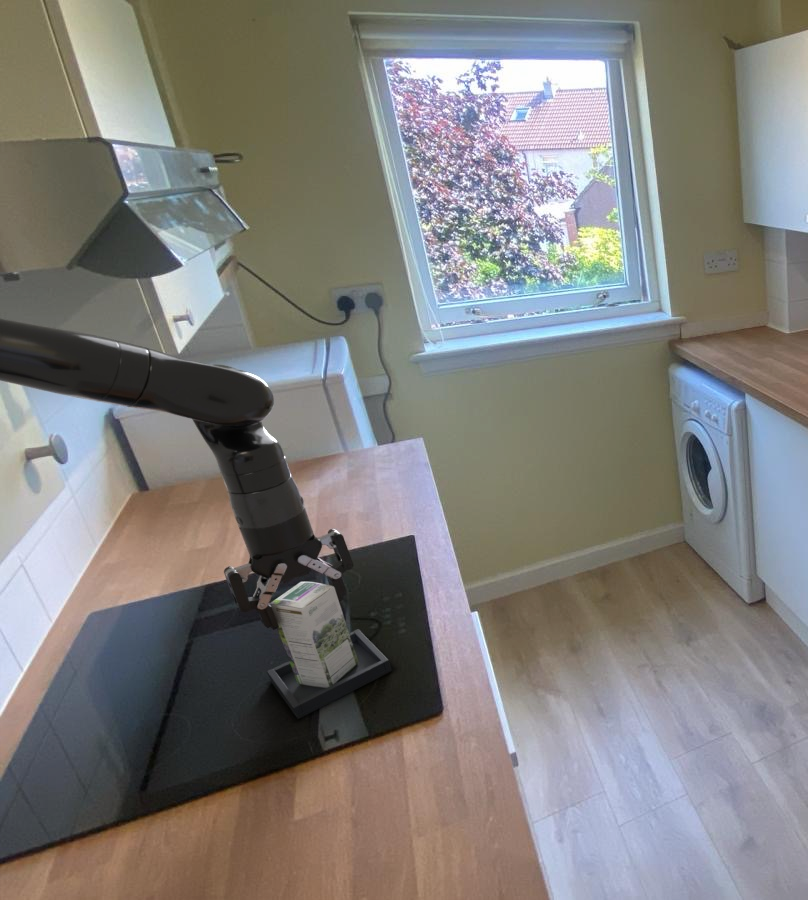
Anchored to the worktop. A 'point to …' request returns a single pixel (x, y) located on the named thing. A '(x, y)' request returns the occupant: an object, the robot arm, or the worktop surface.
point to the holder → (313, 698)
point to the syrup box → (314, 634)
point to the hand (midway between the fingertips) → (307, 612)
